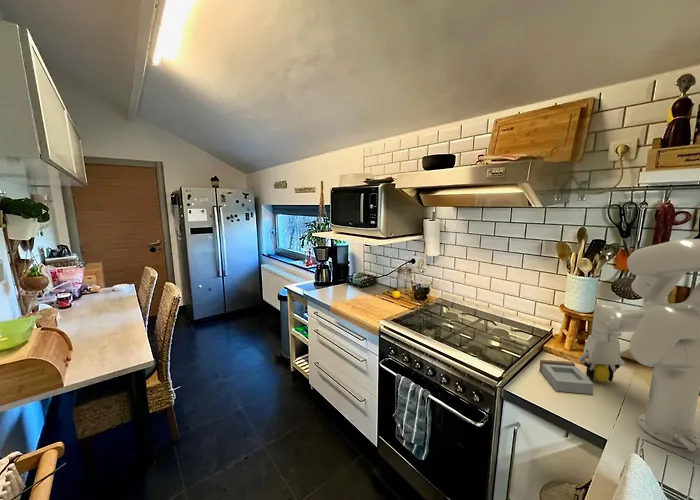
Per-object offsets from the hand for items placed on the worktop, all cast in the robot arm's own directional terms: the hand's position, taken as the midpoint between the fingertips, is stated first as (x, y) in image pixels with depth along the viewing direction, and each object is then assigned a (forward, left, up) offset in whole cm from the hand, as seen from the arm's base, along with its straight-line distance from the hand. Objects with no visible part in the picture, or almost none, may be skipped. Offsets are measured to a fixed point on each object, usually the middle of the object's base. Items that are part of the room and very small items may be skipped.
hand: (599, 378), depth 114 cm
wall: (+4, +13, -1) cm, 14 cm away
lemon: (0, 0, -2) cm, 2 cm away
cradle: (-3, +13, -1) cm, 13 cm away
